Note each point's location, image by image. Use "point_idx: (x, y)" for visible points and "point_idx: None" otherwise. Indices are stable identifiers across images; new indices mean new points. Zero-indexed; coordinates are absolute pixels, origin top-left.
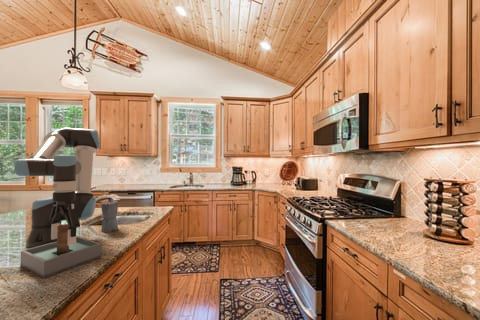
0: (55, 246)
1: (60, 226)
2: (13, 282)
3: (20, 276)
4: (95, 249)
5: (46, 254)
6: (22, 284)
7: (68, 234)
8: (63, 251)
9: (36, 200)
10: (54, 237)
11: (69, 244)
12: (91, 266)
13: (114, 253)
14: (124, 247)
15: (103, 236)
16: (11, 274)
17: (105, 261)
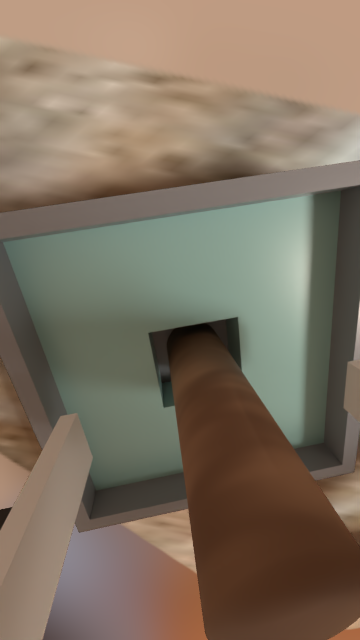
0: (331, 355)
1: (275, 580)
2: (86, 101)
3: (150, 149)
4: None
5: (234, 290)
6: (15, 130)
7: (11, 525)
8: (170, 366)
9: None
10: (356, 384)
11: (58, 427)
12: (13, 408)
13: None
14: (139, 535)
15: (352, 513)
16: (223, 120)
17: (30, 457)
